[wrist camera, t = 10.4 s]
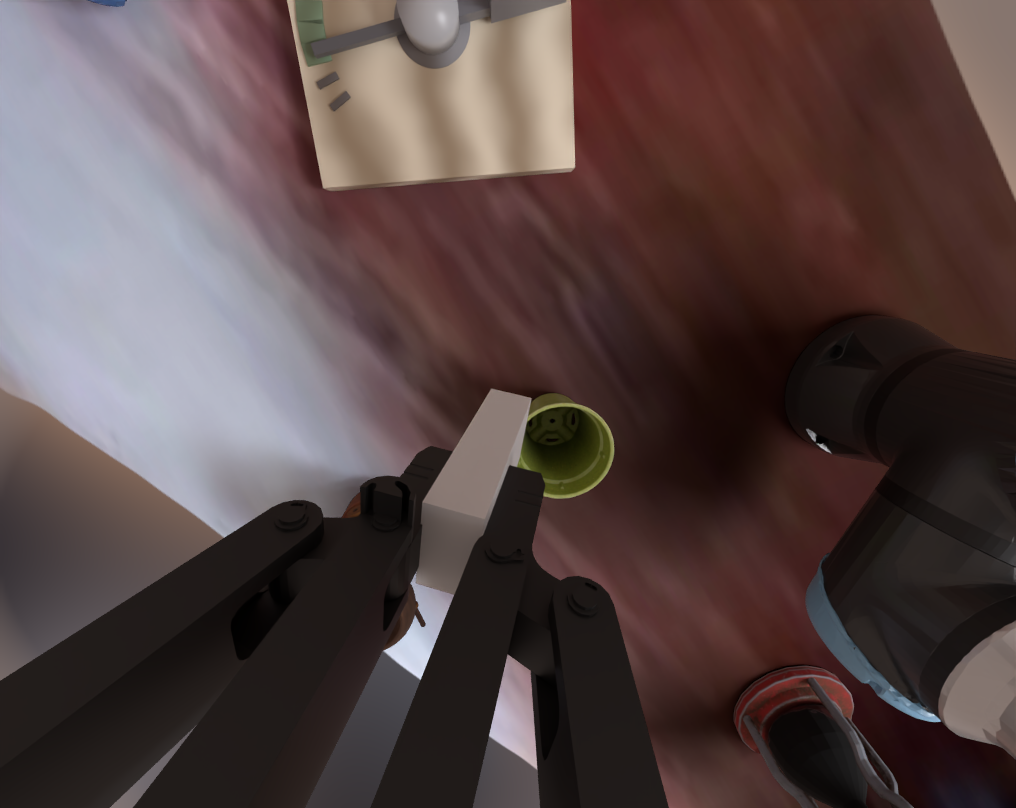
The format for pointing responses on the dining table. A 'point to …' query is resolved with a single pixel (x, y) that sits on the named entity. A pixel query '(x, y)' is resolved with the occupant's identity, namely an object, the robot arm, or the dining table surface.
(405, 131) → the dial plate
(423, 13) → the lever dial gauge
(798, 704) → the hourglass
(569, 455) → the plant pot
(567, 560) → the dining table surface
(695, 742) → the dining table surface
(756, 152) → the dining table surface
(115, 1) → the grapes
